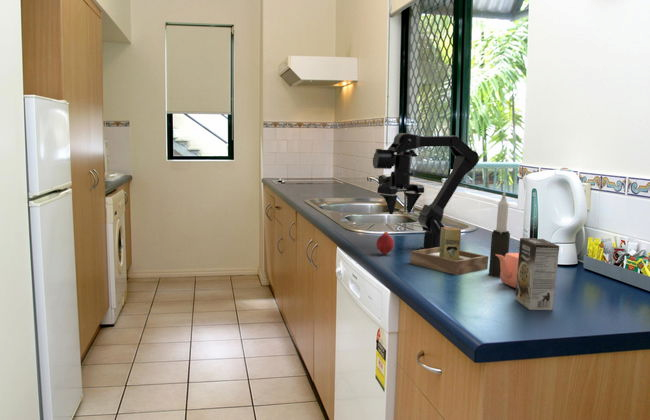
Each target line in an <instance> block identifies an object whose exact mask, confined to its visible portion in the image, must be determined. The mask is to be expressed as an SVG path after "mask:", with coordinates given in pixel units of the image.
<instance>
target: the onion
mask: <svg viewBox="0 0 650 420" xmlns="http://www.w3.org/2000/svg"><path fill="white" fill-rule="evenodd" d="M394 245H395V242H394V239H393V238H392V236H391V235H390V234H389V232H388V231H384V232H383V234H382V235H380V236H379V237H378V238H377V240H376V247H377V250H378V251H379V252H380V253H381V254H382V255H387V254H389V253H390V252H391V251H392V250H393V249H394Z"/></svg>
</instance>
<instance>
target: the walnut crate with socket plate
mask: <svg viewBox="0 0 650 420" xmlns="http://www.w3.org/2000/svg"><path fill="white" fill-rule="evenodd" d="M439 252H440V247H436V248H429V249H418V250H417V249H416V250H411V251H410V262H409V263H410V264H411V265H415V266H419V267H423V268H427V269H432V270H434V271H435V270H436V271H438V272H442V273H448V274H451V275H455V276H456V275H457V276H458V275H462V274H468V273H473V272H477V271H482V270H483V269H484V270H488V269H489V266H488V265H489V255H484V254H480V253H476V252H470V251H465V250H460V253H459V260H458V261H456V260H451V259H447V258H442V257H439Z"/></svg>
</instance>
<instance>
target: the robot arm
mask: <svg viewBox="0 0 650 420" xmlns="http://www.w3.org/2000/svg"><path fill="white" fill-rule="evenodd" d="M423 147H425V148H426V147H448V148H449V150H450V152H451V153H452V155H453V156H454V157H455V158H454V161H453V166H452V170H451V172H450V174H449V175H448V176H447V178H446V180H445V182H444V183H443V185H442V187H441V188H440V190H439V191H438V193H437V195H436V196H435V198H434V200H433V201H432V203H430V204H424V205H423V206H422V209H421V210H420V212H418V218H417V219H418V223H419V225H420V226H421V227H422V231H424V234H423V235H424V236H423V246H419V247H420V250H423V249H429V248H436V247H440V238H441V227H445V225H444V224H443V223H442V220H443V219H444V211H445V208H446V207H447V206H448V203H449V202H450V200H451V199H452V197H453V195H454V193H455V192H456V190H457V188H458V187H459V185H460V184H461V182H462V180H463V178H464V177H465V176H466V175H467V174H468V173H470V172H471V171H472V170H473V169H475V167H476V166H477V165H478V163H479V161H480V158H479V157H480V156H479V152H477V151H475V150H473V149H472V148H471V147H470V146H468V144H467V143H466V142H464V141H463V140H462V139H461V138H460V137H459V136H457V135H443V136H442V135H431V136H429V135H428V136H427V135H426V136H425V135H419V134H414V133H407V132H404V133H403V132H399V133H397V134H396V135H395V136H394V138H393V142H392V143H391V145H390V146H389V147H388V148H387V149H382V148H375V152H374V154H373V158H372V166H373V168H374V169H377V170H378V169H382V170H384V169H385V170H387V169H388V170H390V169H392V168H394V170H393V171H391V172H390V176H386V175H385V174H381V175H378V178H377V182H378V185H379V186H377V192H376V193H377V194H379V195H380V197H382V198H383V199H384V200H385V203H386V206H387V210H388V213H389V215H393V214H394V211H395V207H396V203H397V199H398V195H397V193H398V192H400V193H401V192H404V194H405V196H406V213H408V214H411V211H412V210H413V208H414V207H415V205H416V203H417V201H418V200H419V198H420V197H421V196H422V194H424V193H425V187H424V185H423V184H418V183H411V176H412V177H413V176H414V172H411V170H412V157H414V158H415V157H418V154H417V153H416V151H415V149H418V148H423ZM396 153H397V154H396Z"/></svg>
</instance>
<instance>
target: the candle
mask: <svg viewBox="0 0 650 420" xmlns="http://www.w3.org/2000/svg"><path fill="white" fill-rule="evenodd" d="M509 206H510V205H509V202H508V200H507V198H506V192H503V193H502V196H501V199H500V201H499V202H498V203H497V216H496V218H497V219H496V229H494V230H493V231H492V232H491V240H490V242H491V243H490V254H489V264H488V265H489V266H488V276H489V277H494V278H495V277H496V278H501V277H500V273H501V269H500V259H499V258H498V257H497V256H496V255H502V256H504V257H505V255H506V253H510V252H509V251H510V241H511V240H510V239H511V233H510V231H509V230H508V229H507V228H508V218H509V217H508V216H509Z"/></svg>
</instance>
